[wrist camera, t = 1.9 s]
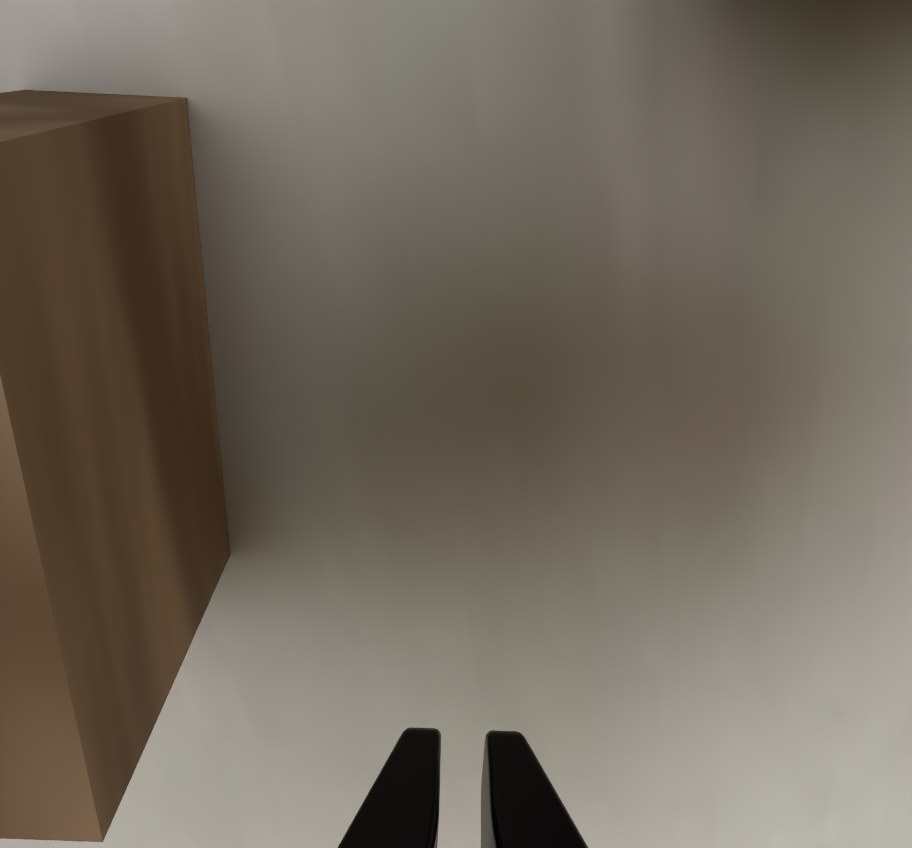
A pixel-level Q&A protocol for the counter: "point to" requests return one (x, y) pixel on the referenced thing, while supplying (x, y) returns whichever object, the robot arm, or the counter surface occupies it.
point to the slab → (98, 447)
